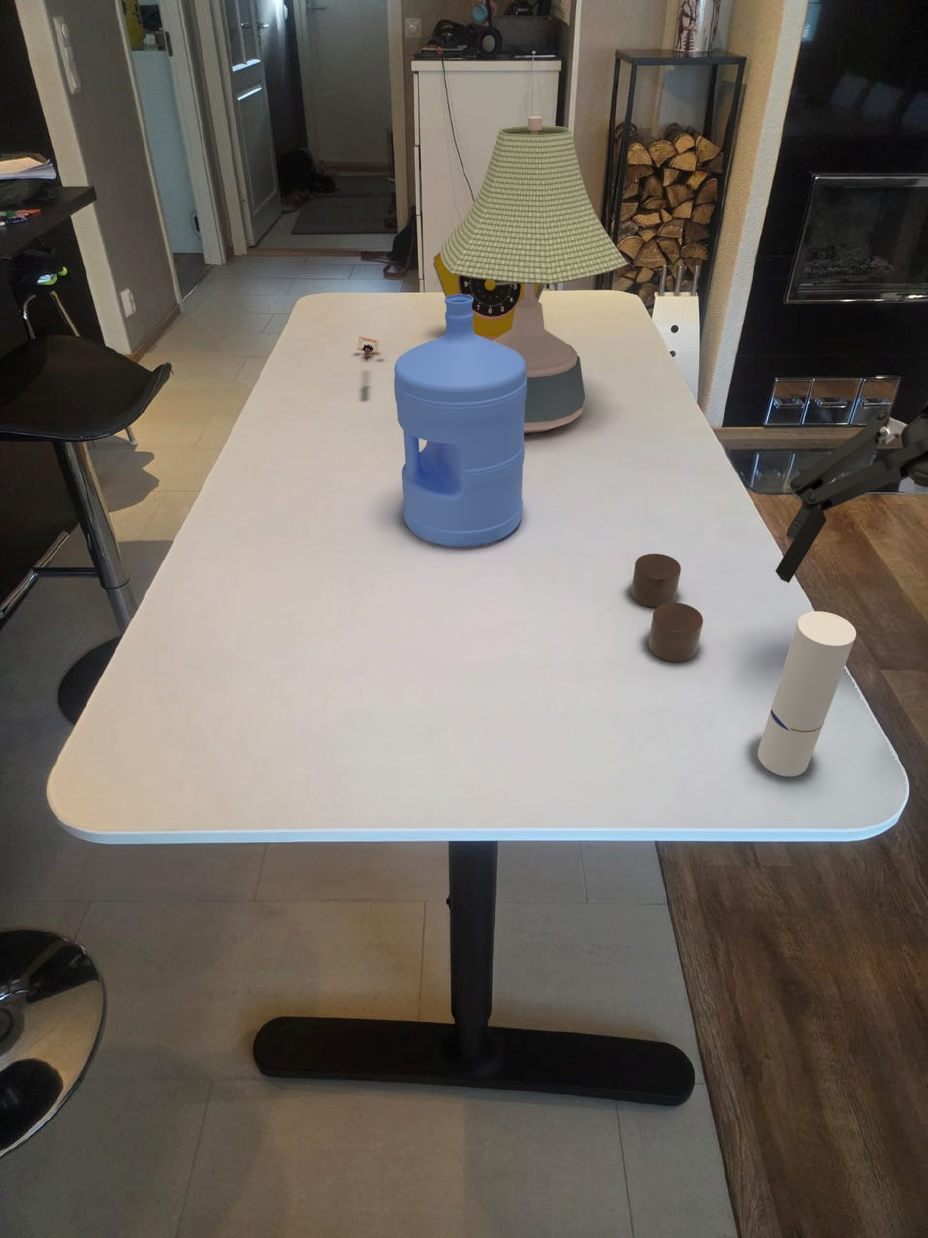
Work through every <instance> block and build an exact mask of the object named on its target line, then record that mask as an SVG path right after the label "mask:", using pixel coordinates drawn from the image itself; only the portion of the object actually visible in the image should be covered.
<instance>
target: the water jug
mask: <svg viewBox="0 0 928 1238" xmlns="http://www.w3.org/2000/svg"><path fill="white" fill-rule="evenodd" d="M444 303H445V309H446V310H445V312H444V319H445V332H444V334H443V335H441V336H438V337H436V338H434V339H431V340H429V341H426V342H424V343H421V344H419V345H417V346H415V347H412V348H411V349H408V350H407V351H405V352H404V353H402V354H401V355H400V356H399V357H398V358H397V360H396V361H395V364H394V371H393V372H394V379H393V389H394V399H395V403H396V413H397V414H396V415H397V422H398V424H399V427H400V428H401V429H402V431H403V445H404V462H405V463H404V464H403V466H402V469H401V485H402V497H403V498H402V513H403V514H402V515H403V519H404V522H405V525H406V526H407V527H408V529H409V530H410V531H411V532H412V533H414V534H415V535H416V536H418V537H419V538H421V539H423V540H425V541H427V542H430V543H433V544H435V545H441V546H446V547H452V548H453V547H457V548H466V547H467V548H469V547H470V548H471V547H477V546H483V545H487V544H491V543H494V542H497V541H499V540H501V539H503V538H505V537H507V536H509V535H510V534H511V533H512V532H513V531H515V529H516V528H517V527H518V526H519V524H520V522H521V520H522V518H523V511H524V508H523V506H524V500H523V478H524V477H523V476H524V475H523V473H524V463H525V454H526V453H525V451H526V450H525V448H526V446H525V444H526V443H525V433H524V418H525V400H526V394H527V376H526V363H525V361H524V359H523V357H522V356H521V355H520V354H519V353H518V352H516V351H515V350H513V349H511V348H509V347H507V346H504V345H502V344H499V343H496V342H494V341H491V340H489V339H486V338H483V337H481V336H478V335H475V333H474V331H473V312H472V303H473V297H472V296H469V295H464V294H456V295H450V296H447V297H444ZM420 440H423V441H426V443H425V446H424V448H423V449H421V450H420Z"/></svg>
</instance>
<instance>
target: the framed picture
mask: <svg viewBox="0 0 928 1238" xmlns="http://www.w3.org/2000/svg"><path fill="white" fill-rule="evenodd" d="M364 341H366V342H369V344H363V342H364ZM370 343H372V344H370ZM378 345H379V340H375V339H372V338H367V337H363V336H359V338H358V344H357V347H356V350H357V351H361V352H364V354H363V356H364V357H365V358H369V356H370V354H374V355H376V353H377V352H378V351H377V350H378ZM362 346H363V347H362Z"/></svg>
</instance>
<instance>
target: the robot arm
mask: <svg viewBox="0 0 928 1238" xmlns="http://www.w3.org/2000/svg"><path fill="white" fill-rule="evenodd" d="M894 439H895V440H896V439H900V441H901V446H902V448H901V449H898V450H896V451H893V452H892V453H889V454H888V455H886V456H884V458H883V459H881V460H879V461H877V462H875V463H873V464H870V465H867V466H866V467H863V468H861V469H859V470H857V471H854V472H852V473H850V474H847V475H845V476H843V477H841V478H839V479H837V478H838V477H839V476H840V475H843V473H845V472H846V471H848V470H849V469H851V468H852V467H853V466H855V465H856V464H858V463H859V462H861V460H863V459H865V458H866V457H867V456H868V455H870V454H872V453H873V452H874V451H875V450H877V448H878V447H879V446H880V445H887V444H889V443H890V442H891V441H893V440H894ZM908 478H909V479H911V481H913V484H914V485H917V486H920V487H922V488H928V400H927V401H926V403H925V404H924V406H923V408H922V410H921V411H920V412H919V415H918V416H917V417H916V418H915V419H914V420H913V421H911V422H909V423H908V424H907V423H905V422H902V421H900V420H898V419H895V418H892V417H891V416H890V413H889V411H888V410H886V409H879V410H877V411H875V413H874V414H873V415H872V416H871V417H870V419H869V421H868V422H866V425H864V427H863V428H862V429H861V430H860V431H858V432H857V433H856V434H855V435H853V436H851V437H850V438H849V439H848V440H846V441H845V442H843V443H842V444H840V445H839V446H838V447H836V448H835V449H833V450H832V451H830V452H829V453H828V454H827V455H825V456H823V457H822V458H821V459H819V460H818V461H817V462H815V463H814V464H813V465H811V466H810V467H808V468H807V469H805V470H803V472H801V473H800V474H798V475H797V476H795V477H794V478H793V479H792V480H790V483H789V487H790V488H791V492H792V494H793V496H794V497H795V498H794V499H796V500H797V501H799V502H800V503H801V506H800V508H799V510H798V511H797V513H796V514H795V516H794V517H793V520H792V521H791V522H790V525H789V526H788V528H787V530H786V537H787V539H788V541H789V542H791V543H790V546H789V547H788V549H787V550H786V552H785V553H784V554H783V555H784V556H783V557H782V559H781V560H780V562H779V563H778V566H777V567H776V569H775V573H776V575H777V576H778V577H779V579H780V580H781V581H783V582H786V583H788V584H790V583H791V580H792V579H793V577H794V575H795V574H796V572H797V570H798V569H799V567H800V566H801V564H802V562H803V560H804V559H805V557H806V555H807V554H808V553H809V551H810V549H811V548H812V545H813V544H814V542H815V541H816V539H817V537H818V535H819V534H820V532H821V531H822V529H823V527H824V525H825V524H826V522H827V517H826V515H825V511H827V510H830V509H832V508H834V507H837V506H839V505H842V504H844V503H846V502H848V501H852V500H854V499H856V498H859V497H860V496H862V495H865V494H868V493H869V492H870V493H871V492H872V491H874V490H877V489H879V488H881V487H884V486H886V485H888V484H891V483H892V484H896V483H899V482H901V481H903V480H906V479H908ZM835 479H836V480H835Z"/></svg>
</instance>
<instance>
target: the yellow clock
mask: <svg viewBox="0 0 928 1238" xmlns="http://www.w3.org/2000/svg"><path fill="white" fill-rule="evenodd" d="M432 264H433V267H434V271H435V272H436V275H437V278H438V282H439V284H440V286H441V289H442V291H443V294H444V298H446V297H447V296H450V295H456V294H464V295H469V296H472V297H473V303H472V312H473V331H474V333H475V335H478V336H481V337H483V338H486V339H489V340H491V341H493V340H494V339H496V338H498V337H499V336H501V335H503V334H504V333H506V332H508V331H509V330H511V329H512V324H513V318H514V313H515V307H516V304H517V303H518V302H521V298H523V297H524V284H522V283H512V282H502V281H493V280H485V279H476V278H470V277H465V276H459V275H453V274H452V273H451V272H450V271H449V270H448V269H447V268H446V267H445V265H444V263H443V261H442V258H441V250H440V251H439V252H437V254H436V255H434V256H433V263H432ZM545 285H546V284H535V298H537V302H540V298H541V296H542V294H543V291H544V289H545Z"/></svg>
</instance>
